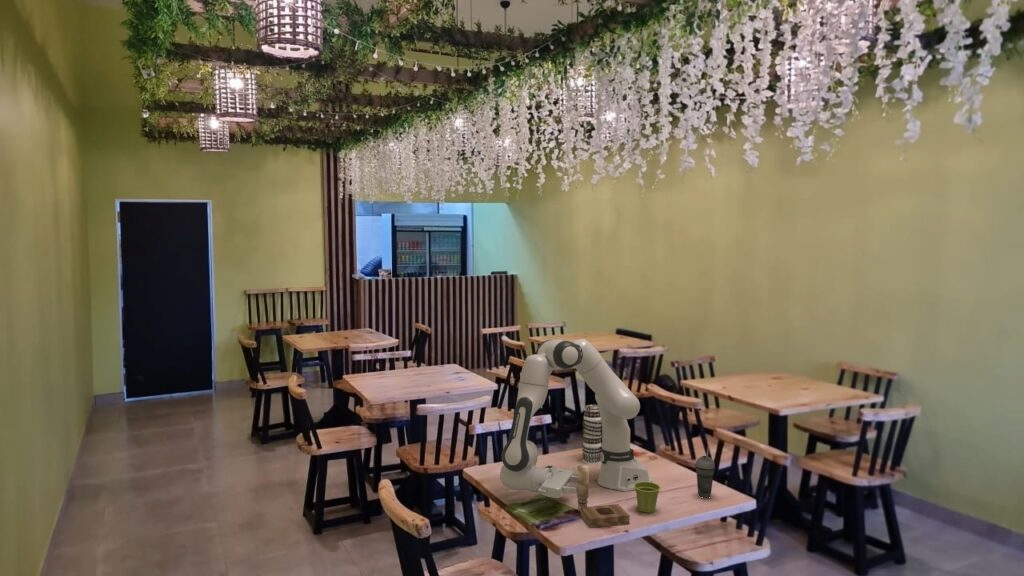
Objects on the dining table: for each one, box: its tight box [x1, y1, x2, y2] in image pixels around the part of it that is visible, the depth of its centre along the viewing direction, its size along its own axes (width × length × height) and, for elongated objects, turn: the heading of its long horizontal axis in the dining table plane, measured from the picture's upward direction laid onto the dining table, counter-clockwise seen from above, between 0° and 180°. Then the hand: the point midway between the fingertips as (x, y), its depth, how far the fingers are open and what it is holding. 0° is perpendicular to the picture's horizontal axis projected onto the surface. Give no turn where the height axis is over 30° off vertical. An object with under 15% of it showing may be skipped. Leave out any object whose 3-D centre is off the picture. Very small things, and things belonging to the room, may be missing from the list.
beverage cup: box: [694, 445, 716, 499], centre depth 242 cm, size 7×7×20 cm
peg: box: [576, 464, 590, 513], centre depth 228 cm, size 4×4×16 cm
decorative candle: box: [581, 404, 602, 465], centre depth 281 cm, size 9×9×25 cm
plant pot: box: [634, 482, 661, 514], centre depth 229 cm, size 9×9×9 cm
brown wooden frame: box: [580, 503, 631, 529], centre depth 221 cm, size 14×10×3 cm
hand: (579, 485), depth 228 cm, fingers open, 8 cm apart
